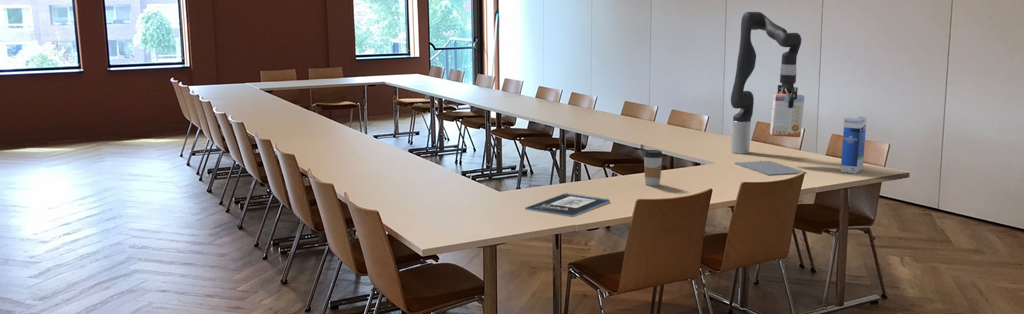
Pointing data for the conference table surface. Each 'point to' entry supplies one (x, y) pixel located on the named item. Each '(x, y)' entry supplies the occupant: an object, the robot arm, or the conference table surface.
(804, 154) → the conference table surface
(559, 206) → the sketchbook
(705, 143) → the conference table surface
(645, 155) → the coffee cup
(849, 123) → the blue cardboard box
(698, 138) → the conference table surface
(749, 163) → the mat
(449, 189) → the conference table surface
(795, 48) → the robot arm
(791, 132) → the cracker box
